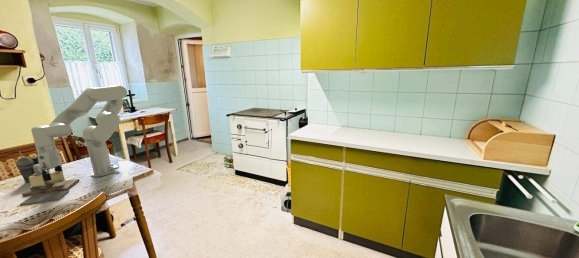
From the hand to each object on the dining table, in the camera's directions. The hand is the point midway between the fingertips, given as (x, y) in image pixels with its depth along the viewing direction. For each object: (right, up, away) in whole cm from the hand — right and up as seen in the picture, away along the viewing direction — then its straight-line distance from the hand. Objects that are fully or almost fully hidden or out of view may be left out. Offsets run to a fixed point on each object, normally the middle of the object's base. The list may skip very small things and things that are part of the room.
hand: (53, 176), depth 132 cm
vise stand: (-2, -7, +2) cm, 8 cm away
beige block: (-3, -4, +1) cm, 5 cm away
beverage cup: (-25, -5, +11) cm, 28 cm away
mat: (+5, -10, -9) cm, 14 cm away
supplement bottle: (-29, -3, +20) cm, 35 cm away
